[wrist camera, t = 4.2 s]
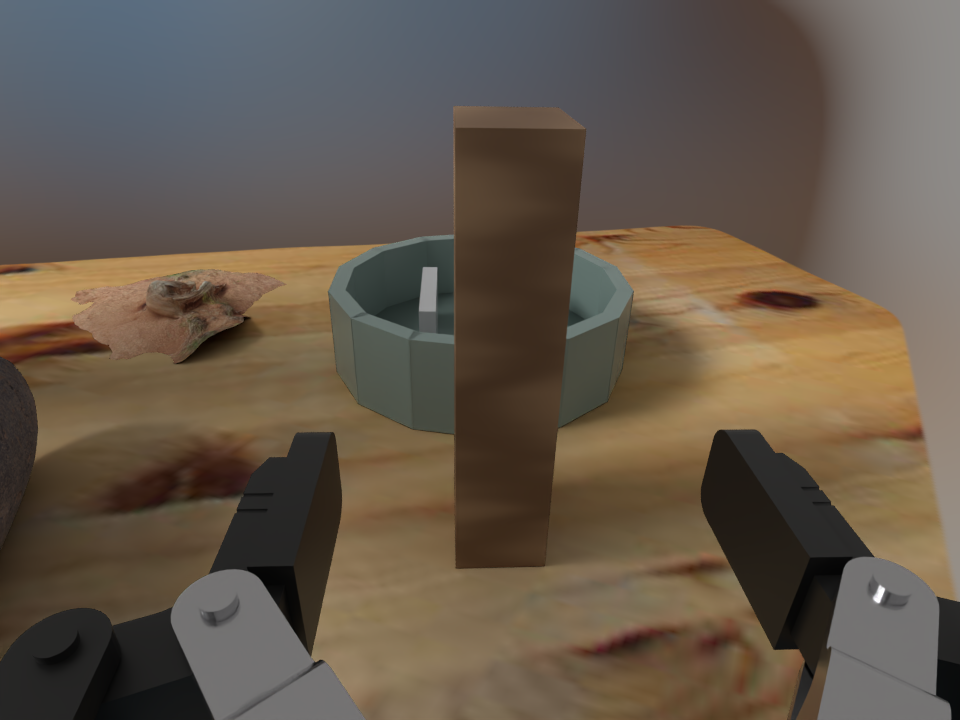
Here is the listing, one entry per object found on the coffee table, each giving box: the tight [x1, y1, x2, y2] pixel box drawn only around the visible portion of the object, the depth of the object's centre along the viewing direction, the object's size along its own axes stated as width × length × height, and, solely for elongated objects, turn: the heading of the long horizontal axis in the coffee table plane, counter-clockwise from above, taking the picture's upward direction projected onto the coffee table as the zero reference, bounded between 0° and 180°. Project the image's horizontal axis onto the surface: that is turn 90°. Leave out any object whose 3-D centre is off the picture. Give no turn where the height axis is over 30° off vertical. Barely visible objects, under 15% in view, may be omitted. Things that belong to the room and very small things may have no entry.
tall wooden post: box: [454, 106, 586, 568], centre depth 19 cm, size 3×4×14 cm
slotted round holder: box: [328, 235, 634, 434], centre depth 33 cm, size 15×15×4 cm
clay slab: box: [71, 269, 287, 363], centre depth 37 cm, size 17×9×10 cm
